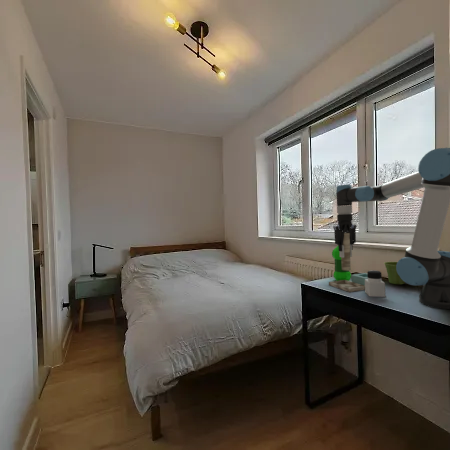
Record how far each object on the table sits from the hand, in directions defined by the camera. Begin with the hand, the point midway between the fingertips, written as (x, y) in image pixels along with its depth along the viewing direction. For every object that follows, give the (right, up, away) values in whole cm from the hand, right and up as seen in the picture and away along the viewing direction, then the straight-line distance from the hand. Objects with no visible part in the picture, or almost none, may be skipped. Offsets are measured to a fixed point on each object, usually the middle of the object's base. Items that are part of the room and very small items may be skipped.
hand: (345, 256), depth 148 cm
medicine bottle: (+8, -17, -14) cm, 24 cm away
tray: (+1, -17, 0) cm, 17 cm away
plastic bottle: (+4, -17, +14) cm, 22 cm away
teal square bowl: (+12, -16, +2) cm, 20 cm away
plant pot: (+31, -16, +5) cm, 35 cm away
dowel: (0, -7, 0) cm, 7 cm away
